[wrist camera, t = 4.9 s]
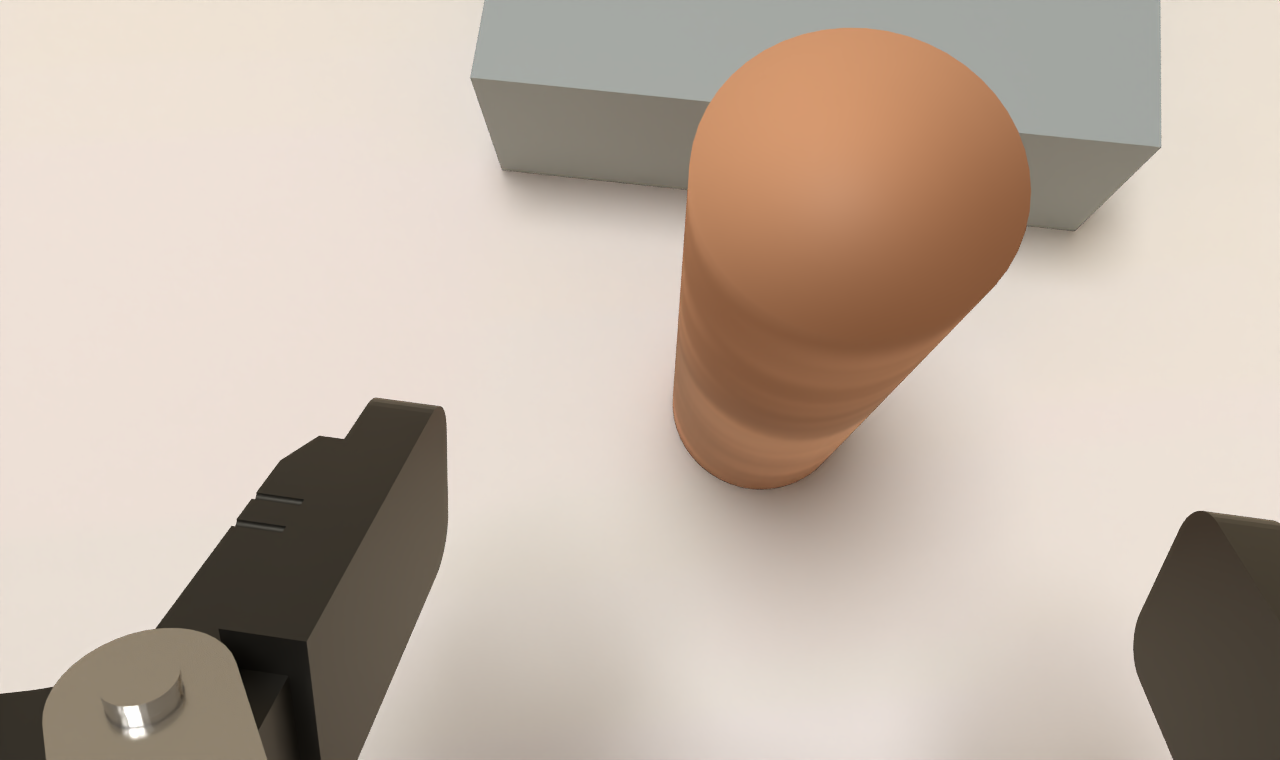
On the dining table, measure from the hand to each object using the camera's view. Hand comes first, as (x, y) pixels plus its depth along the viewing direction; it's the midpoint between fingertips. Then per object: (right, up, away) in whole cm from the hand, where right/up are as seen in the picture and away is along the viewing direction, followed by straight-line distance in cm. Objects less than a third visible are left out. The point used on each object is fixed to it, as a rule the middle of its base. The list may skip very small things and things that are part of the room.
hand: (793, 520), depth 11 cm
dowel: (+1, +1, +9) cm, 9 cm away
